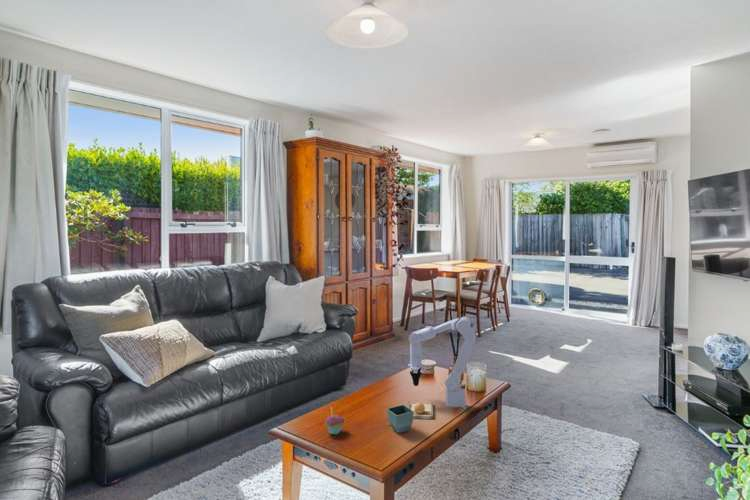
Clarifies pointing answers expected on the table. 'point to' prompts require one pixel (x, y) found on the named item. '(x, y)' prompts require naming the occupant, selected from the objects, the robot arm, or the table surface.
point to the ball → (419, 408)
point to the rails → (423, 415)
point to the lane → (427, 406)
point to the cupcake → (334, 423)
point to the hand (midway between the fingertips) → (416, 383)
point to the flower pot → (400, 418)
